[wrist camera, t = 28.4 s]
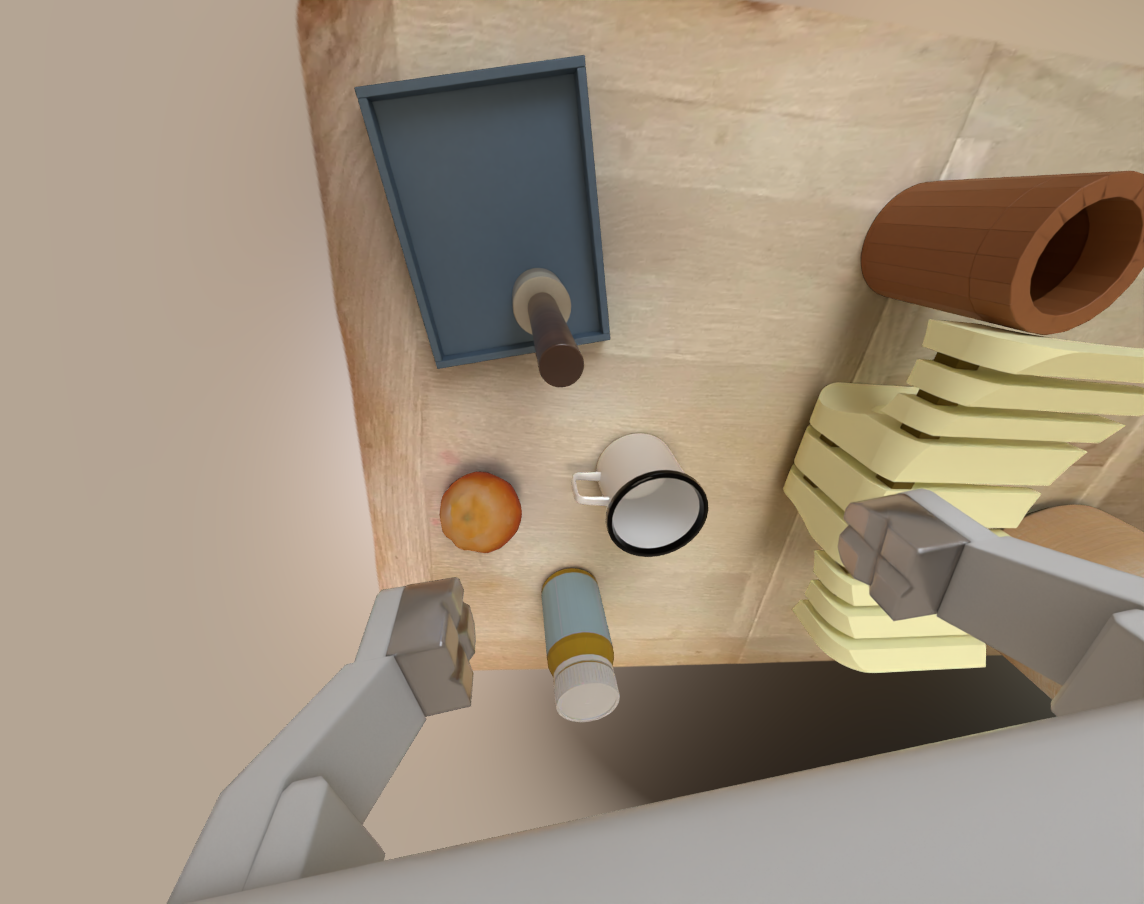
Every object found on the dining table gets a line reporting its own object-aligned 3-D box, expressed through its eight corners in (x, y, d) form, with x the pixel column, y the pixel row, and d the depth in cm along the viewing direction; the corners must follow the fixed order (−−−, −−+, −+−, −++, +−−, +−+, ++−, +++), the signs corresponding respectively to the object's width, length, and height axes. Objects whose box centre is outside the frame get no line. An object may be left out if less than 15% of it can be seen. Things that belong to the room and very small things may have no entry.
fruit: (496, 551, 50) (463, 577, 42) (453, 495, 50) (412, 511, 42) (550, 508, 48) (525, 527, 40) (504, 450, 48) (471, 458, 41)
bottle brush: (507, 272, 37) (507, 328, 20) (560, 263, 37) (601, 312, 21) (517, 325, 39) (524, 415, 23) (567, 317, 39) (610, 400, 23)
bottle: (572, 555, 53) (594, 669, 40) (607, 585, 56) (638, 699, 43) (529, 587, 55) (536, 706, 42) (565, 614, 58) (582, 733, 45)
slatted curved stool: (839, 294, 42) (1033, 347, 26) (983, 308, 44) (1237, 365, 29) (746, 544, 56) (837, 674, 40) (859, 544, 58) (985, 667, 43)
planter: (1060, 599, 70) (1242, 730, 53) (926, 627, 69) (1066, 769, 52) (1127, 484, 59) (1384, 601, 42) (968, 515, 58) (1164, 648, 41)
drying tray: (362, 93, 31) (353, 87, 29) (580, 62, 31) (584, 54, 30) (440, 361, 40) (437, 369, 38) (606, 334, 41) (610, 339, 39)
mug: (685, 429, 47) (721, 474, 39) (666, 503, 51) (695, 557, 43) (572, 423, 45) (585, 470, 37) (562, 501, 49) (573, 558, 41)
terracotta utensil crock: (872, 190, 38) (1045, 184, 26) (977, 173, 38) (1196, 160, 26) (852, 304, 42) (990, 345, 30) (946, 288, 43) (1119, 322, 31)
